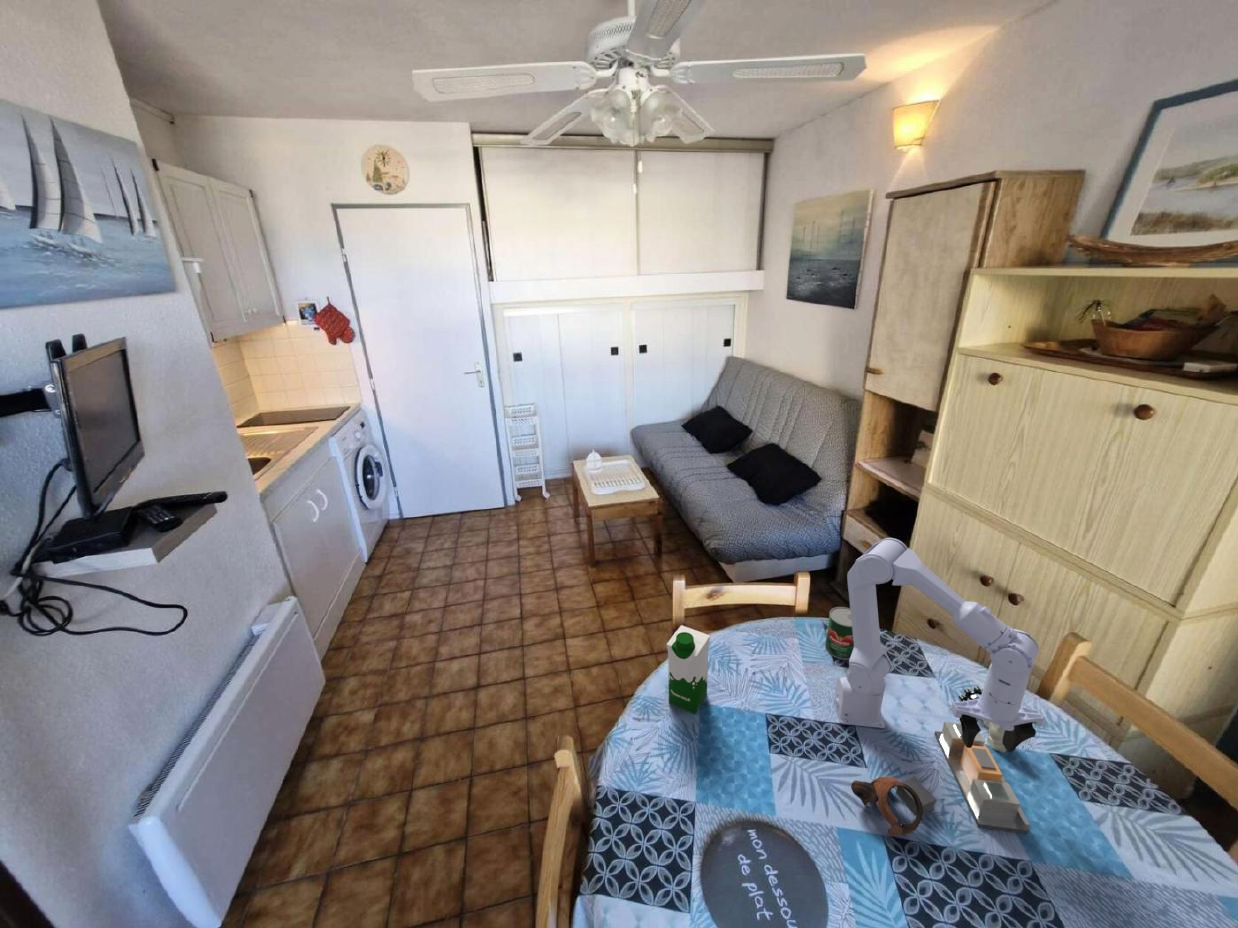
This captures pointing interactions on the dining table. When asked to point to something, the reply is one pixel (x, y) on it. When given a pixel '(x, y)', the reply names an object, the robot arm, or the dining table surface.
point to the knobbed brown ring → (881, 789)
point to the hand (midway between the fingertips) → (986, 745)
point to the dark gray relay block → (920, 790)
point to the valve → (987, 723)
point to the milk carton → (688, 668)
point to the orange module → (980, 764)
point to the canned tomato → (840, 633)
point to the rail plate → (966, 790)
